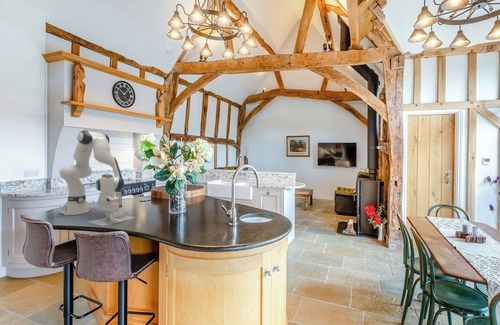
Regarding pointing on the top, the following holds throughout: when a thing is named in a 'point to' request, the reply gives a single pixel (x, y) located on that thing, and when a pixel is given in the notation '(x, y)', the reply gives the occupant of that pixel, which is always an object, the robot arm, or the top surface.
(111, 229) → the top surface
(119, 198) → the candy bar box
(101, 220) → the mat
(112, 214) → the panel
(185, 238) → the top surface
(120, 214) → the fixed fence
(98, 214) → the top surface
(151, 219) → the top surface
